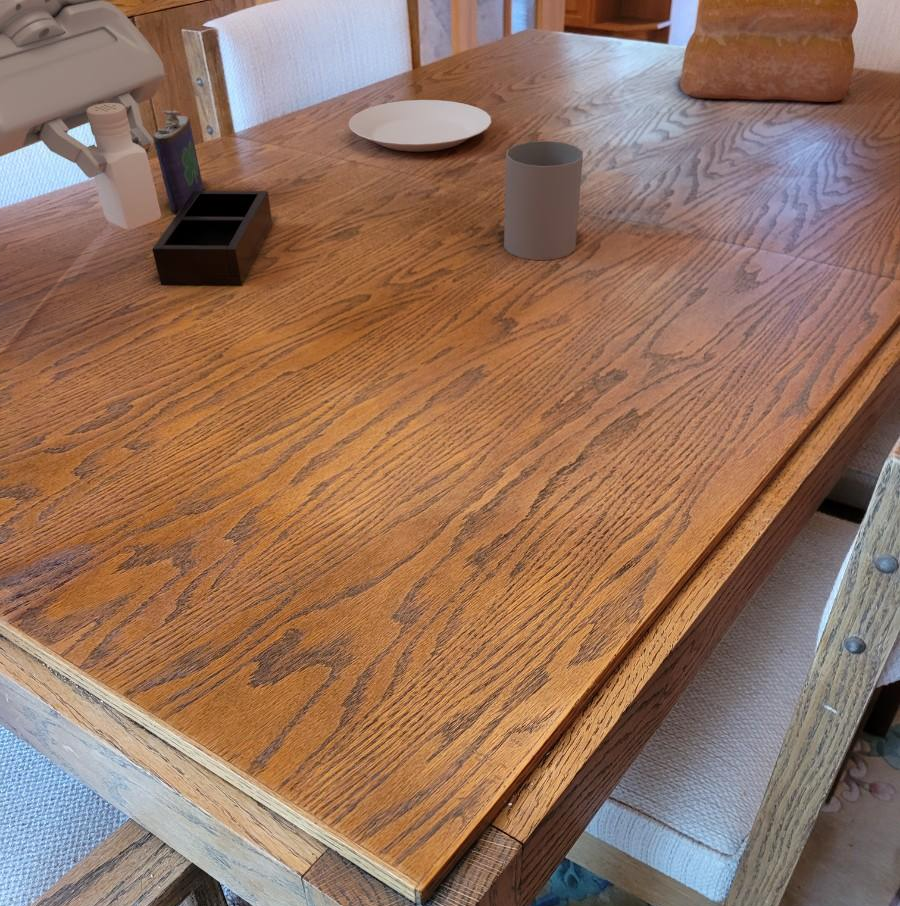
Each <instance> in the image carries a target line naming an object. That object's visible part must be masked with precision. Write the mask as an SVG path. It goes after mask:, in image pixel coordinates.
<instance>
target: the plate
mask: <svg viewBox="0 0 900 906" xmlns="http://www.w3.org/2000/svg"><path fill="white" fill-rule="evenodd" d="M491 125H492V117H491V116H490V114H488V112H487V111H485V110H483V109H481V108H479V107H477V106H473V105H471V104H468V103H467V104H466V103H462V102H457V101H450V100H442V99H441V100H439V99H417V100H415V99H413V100H411V99H410V100H400V101H394V102H393V101H392V102H387V103H382V104H378V105H377V104H376V105H374V106H371V107H368V108H364V109H363V110H361V111H359V112H357V113H355V114H354V115H353V116H352V117H350V119H349V122H348V127H349V128H350V130H351V131H352V132H353V133H355V134H356V135H357V136H359V137H362V138H364V139H366V140H369V141H371V142H374V143H375V144H377V145H379V146H382V147H383V148H387V149H390V150H395V151H402V152H409V153H410V152H412V153H413V152H414V153H415V152H417V153H423V152H434V151H441V150H446V149H449V148H450V149H451V148H453V147H456V146H459V145H460V144H463V143H464V142H466V141H467V140H469V139H471V138H473V137H475V136H478V135H480V134H482V133H483V132H484V131H486V130H488V129H489V128H490V126H491Z"/></svg>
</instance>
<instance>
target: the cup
mask: <svg viewBox="0 0 900 906" xmlns="http://www.w3.org/2000/svg"><path fill="white" fill-rule="evenodd" d="M583 159H584V151H583V150H582V149H581V148H579V147H577V145H573V144H569V143H566V142H562V141H551V140H537V141H536V140H535V141H527V142H522V143H518V144H515V145H513V146H512V147H510V148H508V149H507V150H506V154H505V183H504V184H505V186H504V187H505V188H504V189H505V190H504V220H503V222H504V223H503V224H504V227H503V233H504V234H503V248H504V249H505V250H506V251H507V252H508V254H511V255H513V256H516V257H518V258H520V259H525V260H533V261H550V260H552V261H553V260H556V259H561V258H563V257H568V256H569V255H570V254H572V253H573V252H574V251H576V247H577V233H578V223H579V221H578V220H579V210H580V196H581V183H582V172H583Z"/></svg>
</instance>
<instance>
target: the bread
mask: <svg viewBox="0 0 900 906" xmlns="http://www.w3.org/2000/svg"><path fill="white" fill-rule="evenodd" d="M858 19H859V10H858V4H857V1H856V0H701V2H700V4H699V6H698V11H697V25H696V29H695V30H694V31H693V33H692V34H691V36H690V38H689V40H688V42H687V44H686V47H685V51H684V56H683V62H682V68H681V75H680V83H679V85H680V89H681V91H682V92H683V93H684V94H685V95H687V96H690V97H692V98H698V99H717V100H718V99H719V100H720V99H721V100H731V99H736V100H737V99H738V100H752V101H753V100H755V101H757V100H758V101H762V100H765V101H767V100H768V101H769V100H771V101H772V100H773V101H774V100H777V101H779V100H781V101H793V102H818V103H819V102H820V103H821V102H823V103H824V102H825V103H827V102H828V103H830V102H831V103H832V102H838V101H841V100H844V99H845V97H846V95H847V94H848V92H849V88H850V86H851V82H852V78H853V73H854V66H855V60H856V58H855V57H856V53H855V48H854V40H853V33H854V31H855V28H856V26H857V23H858Z"/></svg>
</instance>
